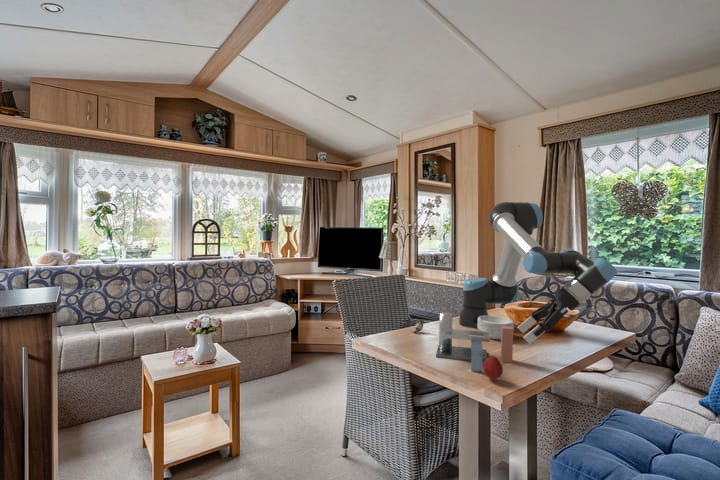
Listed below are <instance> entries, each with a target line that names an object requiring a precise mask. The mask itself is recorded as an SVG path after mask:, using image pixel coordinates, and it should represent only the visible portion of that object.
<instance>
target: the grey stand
mask: <svg viewBox="0 0 720 480" xmlns="http://www.w3.org/2000/svg"><path fill="white" fill-rule="evenodd" d="M438 320H439V321H438V322H439V327H438V328H439V331H438V334H439V335H438V345H437V346H438V347H437V349H436V353H435V358H441V359H450V360H451V359H452V360H460V361H461V360H462V361H469V362H470V372H473V373H474V372H476V373H483V363H484V362H485V360H486V359H488V358H489V357H488V352H487V349H484V348H483V342H485V343H490V340H491V338H489V334H488V332H482V331H481V330H478V331H477V330H469V329H468V330H466V329H457V328H453V313H451V312H445V311H443V312H439V319H438ZM453 339H454V340H464V341H465V340H466V341H470V347H465V346H464V347H463V346H453Z"/></svg>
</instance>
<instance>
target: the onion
mask: <svg viewBox="0 0 720 480" xmlns="http://www.w3.org/2000/svg"><path fill="white" fill-rule="evenodd" d="M503 371H504V370H503V364H502V363H501V360H499V359H498V358H497V357H496V356H495V355H494V354H491V355H490V357H488V359H486V360H485V362H483V365H482V372H483V373H484V375H485V376H487V378H489V380H490V381H496V380H497V379H499V378H500V377H501V376H502V375H503Z"/></svg>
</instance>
